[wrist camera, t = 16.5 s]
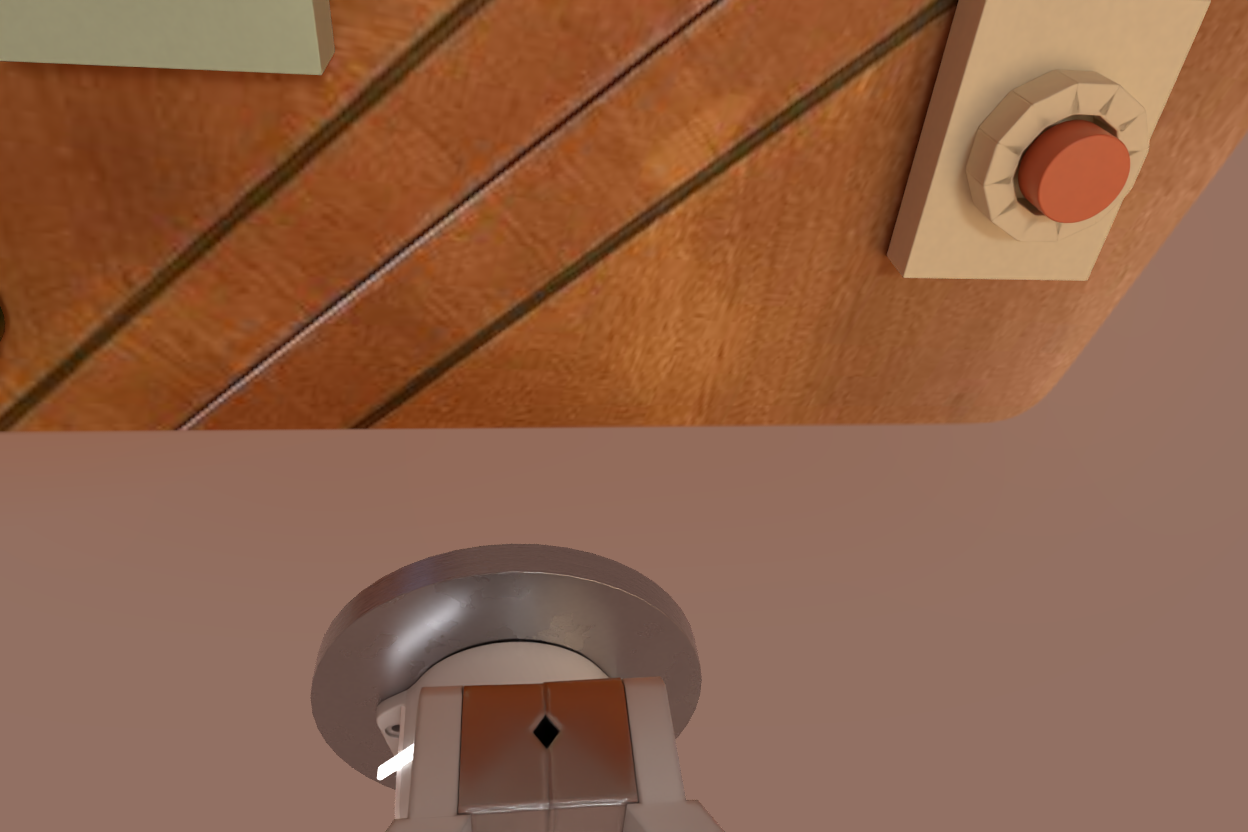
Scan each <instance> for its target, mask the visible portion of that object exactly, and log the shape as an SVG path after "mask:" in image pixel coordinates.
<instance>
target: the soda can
mask: <svg viewBox="0 0 1248 832" xmlns="http://www.w3.org/2000/svg"><path fill="white" fill-rule="evenodd" d="M4 329H5V321H4V315H3V312H2V309H1V307H0V341H1V339H2V337H3V334H4Z"/></svg>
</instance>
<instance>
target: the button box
mask: <svg viewBox="0 0 1248 832" xmlns="http://www.w3.org/2000/svg"><path fill="white" fill-rule="evenodd" d="M1210 2H1211V1H1210V0H959V1H958V4H957V8H956V11H955V15H954V18H953V22H952V25H951V29H950V33H949V36H948V40H947V43H946V47H945V50H944V54H943V57H942V61H941V64H940V68H939V72H938V75H937V79H936V82H935V86H934V89H933V93H932V96H931V100H930V103H929V107H928V111H927V114H926V118H925V121H924V125H923V128H922V132H921V135H920V139H919V142H918V146H917V150H916V153H915V157H914V160H913V164H912V167H911V171H910V174H909V178H908V182H907V185H906V189H905V192H904V196H903V199H902V203H901V206H900V210H899V213H898V217H897V221H896V224H895V228H894V231H893V235H892V238H891V242H890V245H889V249H888V252H887V257H888V258H889V259H890V261H891V262H892V263H893V265H894V266H895V267H896V269H897V270H898V271H899V273H900V274H901V275H902V277H903V278H951V279H1013V280H1075V281H1087V280H1088V278H1089V275H1090V273H1091V271H1092V269H1093V266H1094V264H1095V262H1096V260H1097V257H1098V255H1099V253H1100V251H1101V248H1102V246H1103V244H1104V241H1105V239H1106V237H1107V235H1108V232H1109V230H1110V228H1111V226H1112V223H1113V221H1114V219H1115V217H1116V214H1117V212H1118V210H1119V208H1120V205H1121V203H1122V201H1123V199H1124V197H1125V196H1126V195H1127V194H1128V193H1129V192H1130V189H1132V187H1133V185H1134V183H1135V180H1136V178H1137V176H1138V174H1139V171H1140V169H1141V167H1142V165H1143V162H1144V160H1145V158H1146V156H1147V153H1148V151H1149V149H1148V148H1149V140H1150V138H1151V135H1152V133H1153V131H1154V129H1155V126H1156V124H1157V122H1158V120H1159V117H1160V115H1161V113H1162V111H1163V108H1164V106H1165V104H1166V102H1167V99H1168V97H1169V95H1170V92H1171V90H1172V88H1173V86H1174V83H1175V81H1176V79H1177V77H1178V74H1179V72H1180V70H1181V68H1182V65H1183V63H1184V61H1185V59H1186V56H1187V54H1188V52H1189V50H1190V47H1191V45H1192V43H1193V41H1194V38H1195V36H1196V34H1197V32H1198V29H1199V27H1200V25H1201V23H1202V20H1203V18H1204V16H1205V13H1206V11H1207V9H1208V7H1209V4H1210ZM1070 120H1086V121H1090V122H1092V123H1094V124H1096V125H1098V126H1099V127H1101V128H1102V129H1104V130H1106V131H1107V132H1109V133H1110V134H1112V135H1113V136H1115V137H1117V138H1118V139H1119V140H1121V141H1122V142H1123V143H1124V144H1125V146H1126V148H1127V149H1128V152H1129V156H1130V172H1129V176H1128V178H1127V181H1126V183H1125V185H1124V187H1123V189H1122V190H1121V192H1120V194H1119V195H1118V196H1117V197H1116V199H1115V200H1114V201H1113V202H1112V203H1111V204H1110V205H1109V206H1108V207H1107V208H1105V209H1104V210H1103V211H1101V212H1100V213H1098V214H1097V215H1095V216H1093V217H1091V218H1089V219H1086V220H1084V221H1080V222H1075V223H1060V222H1056V221H1053V220H1051V219H1049V218H1048V217H1046V216H1045V215H1044V214H1043V213H1042V212H1041V211H1039V210H1038V209H1037V208H1036V207H1035V206H1034V205H1032V204H1031V203H1030V202H1029V201H1028V200H1027V199H1026V198H1025V197H1024V196H1023V194H1022V193H1021V191H1020V188H1019V183H1018V172H1019V167H1020V164H1021V161H1022V159H1023V156H1024V155H1025V153H1026V151H1027V150H1028V148H1029V147H1030V145H1031V144H1032V143H1033V142H1034V141H1035V140H1036V139H1037V138H1038V137H1039V136H1040V135H1041V134H1042V133H1044V132H1045V131H1046V130H1048V129H1049V128H1051V127H1053V126H1055V125H1057V124H1060V123H1062V122H1066V121H1070Z"/></svg>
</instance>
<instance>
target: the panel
mask: <svg viewBox="0 0 1248 832" xmlns="http://www.w3.org/2000/svg"><path fill="white" fill-rule="evenodd" d="M334 52H335V47H334V38H333V30H332V21H331V13H330V5H329V0H0V61H12V62H34V63H57V64H80V65H103V66H125V67H148V68H171V69H193V70H216V71H239V72H262V73H284V74H307V75H322V74H323V72H324V70H325V68H326V67H327V65H328V63H329V61H330V60H331V58H332V56H333V54H334Z"/></svg>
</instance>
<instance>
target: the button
mask: <svg viewBox="0 0 1248 832" xmlns="http://www.w3.org/2000/svg"><path fill="white" fill-rule="evenodd" d="M1129 172H1130V156H1129V152H1128V149H1127V148H1126V146H1125V144H1124V143H1123V142H1122V141H1121V140H1119V139H1118V138H1117V137H1115V136H1113V135H1112V134H1110V133H1109V132H1107V131H1106V130H1104V129H1102V128H1101V127H1099V126H1098V125H1096V124H1094V123H1092V122H1090V121H1086V120H1070V121H1066V122H1062V123H1060V124H1057V125H1055V126H1053V127H1051V128H1049V129H1048V130H1046V131H1045V132H1044V133H1042V134H1041V135H1040V136H1039V137H1038V138H1037V139H1036V140H1035V141H1034V142H1033V143H1032V144H1031V145H1030V147H1029V148H1028V150H1027V151H1026V153H1025V155H1024V156H1023V159H1022V161H1021V164H1020V167H1019V172H1018V183H1019V188H1020V191H1021V193H1022V194H1023V196H1024V197H1025V198H1026V199H1027V200H1028V201H1029V202H1030V203H1031V204H1032V205H1034V206H1035V207H1036V208H1037V209H1038V210H1039V211H1041V212H1042V213H1043V214H1044V215H1045V216H1046V217H1048V218H1049V219H1051V220H1053V221H1056V222H1060V223H1075V222H1080V221H1084V220H1086V219H1089V218H1091V217H1093V216H1095V215H1097V214H1098V213H1100V212H1101V211H1103V210H1104V209H1105V208H1107V207H1108V206H1109V205H1110V204H1111V203H1112V202H1113V201H1114V200H1115V199H1116V197H1117V196H1118V195H1119V194H1120V192H1121V190H1122V189H1123V187H1124V185H1125V183H1126V181H1127V178H1128V176H1129Z"/></svg>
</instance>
